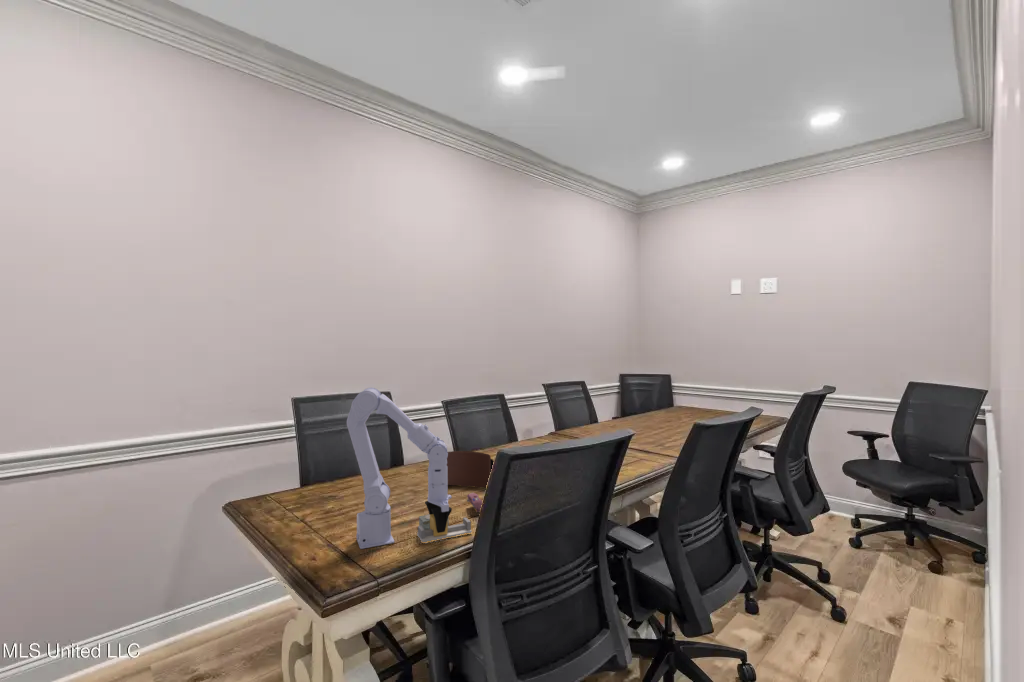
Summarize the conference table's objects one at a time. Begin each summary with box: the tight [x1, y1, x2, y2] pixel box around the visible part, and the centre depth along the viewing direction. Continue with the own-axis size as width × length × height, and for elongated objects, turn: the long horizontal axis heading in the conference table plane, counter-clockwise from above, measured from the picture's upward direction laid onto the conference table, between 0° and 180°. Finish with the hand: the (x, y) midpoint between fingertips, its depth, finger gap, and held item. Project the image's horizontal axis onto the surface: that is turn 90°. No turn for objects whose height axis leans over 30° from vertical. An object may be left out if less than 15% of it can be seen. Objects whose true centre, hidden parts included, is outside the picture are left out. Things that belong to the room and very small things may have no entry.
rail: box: [416, 517, 473, 542], centre depth 140 cm, size 15×6×3 cm, turn 116°
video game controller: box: [466, 492, 483, 513], centre depth 160 cm, size 10×5×7 cm, turn 21°
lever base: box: [418, 513, 450, 530], centre depth 146 cm, size 8×5×3 cm, turn 116°
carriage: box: [430, 514, 448, 536], centre depth 139 cm, size 4×5×5 cm
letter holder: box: [447, 450, 495, 489], centre depth 191 cm, size 10×20×14 cm, turn 75°
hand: (438, 528), depth 139 cm, fingers closed on carriage, 5 cm apart
